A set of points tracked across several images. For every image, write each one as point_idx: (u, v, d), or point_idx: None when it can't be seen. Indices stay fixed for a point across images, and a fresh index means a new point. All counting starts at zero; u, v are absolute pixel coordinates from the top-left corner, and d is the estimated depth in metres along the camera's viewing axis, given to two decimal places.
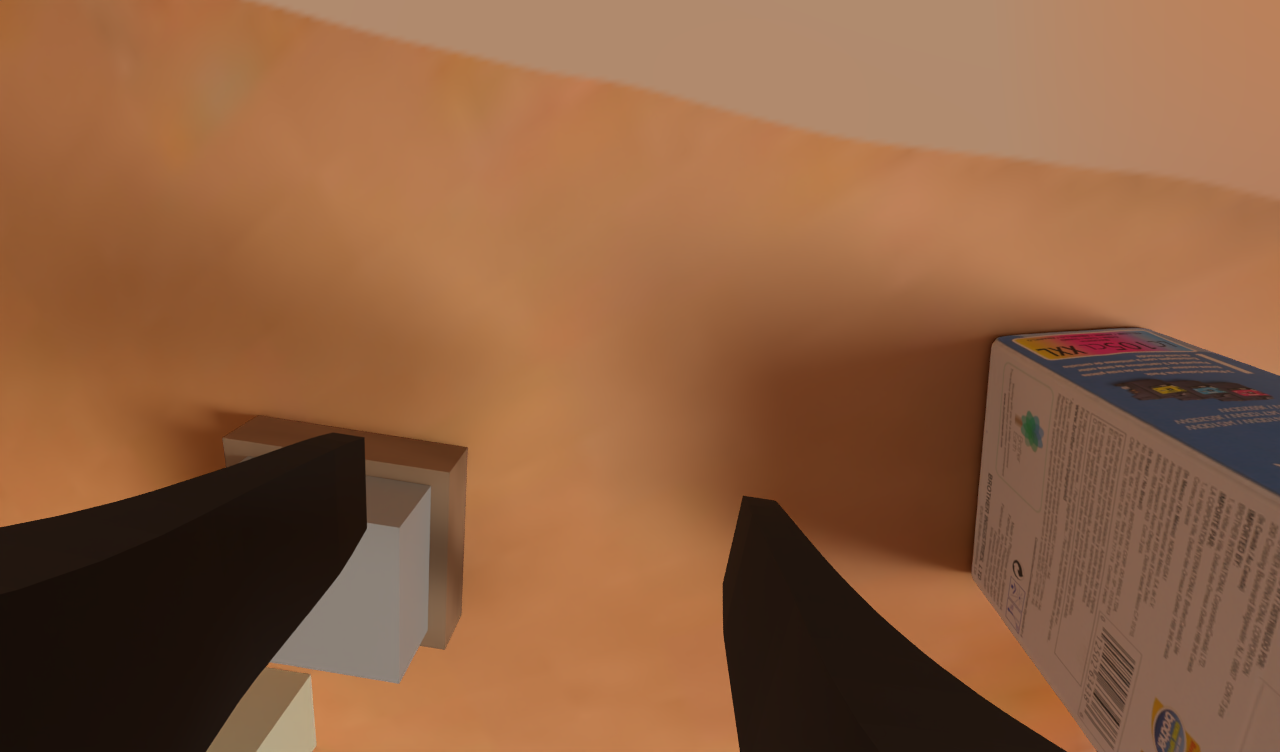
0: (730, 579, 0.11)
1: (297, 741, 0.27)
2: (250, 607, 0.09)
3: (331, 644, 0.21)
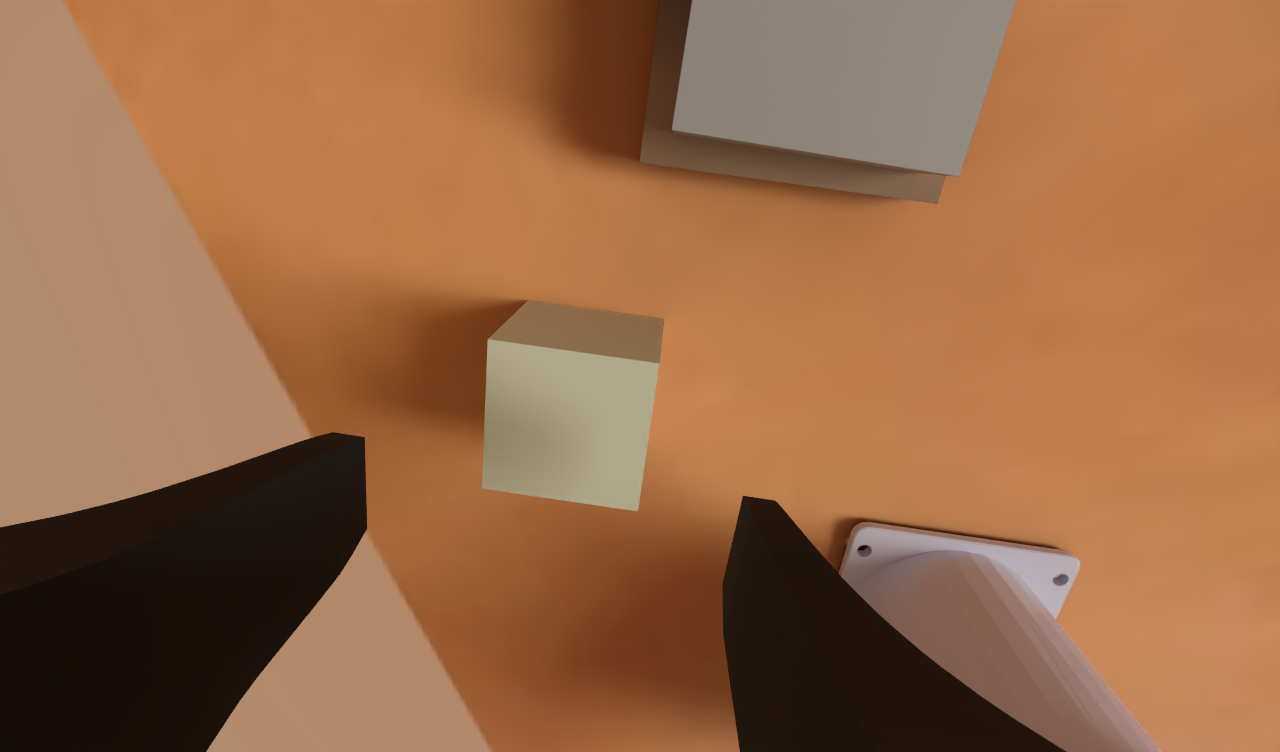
0: (730, 579, 0.11)
1: None
2: (250, 607, 0.09)
3: (871, 96, 0.13)
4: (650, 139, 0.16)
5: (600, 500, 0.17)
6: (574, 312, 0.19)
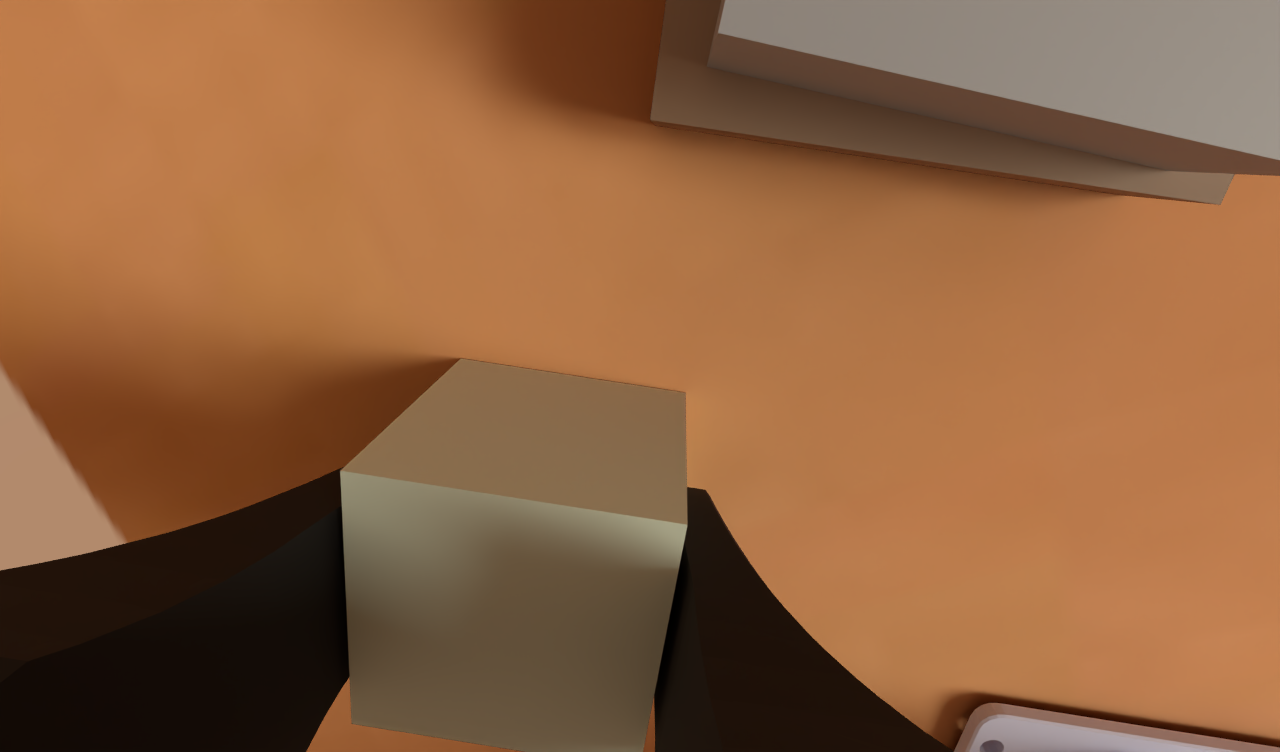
0: None
1: None
2: (337, 621, 0.09)
3: None
4: (671, 73, 0.08)
5: (570, 749, 0.09)
6: (534, 385, 0.11)
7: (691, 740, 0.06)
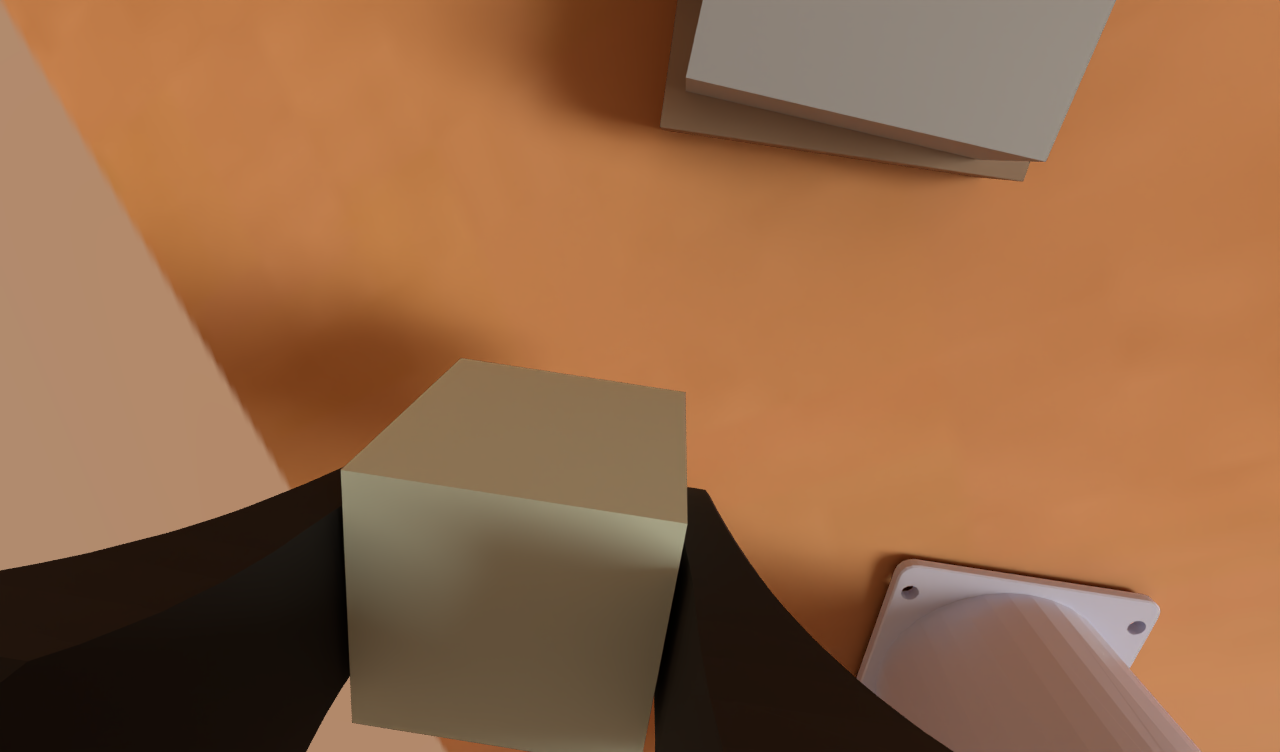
0: None
1: None
2: (337, 621, 0.09)
3: (945, 50, 0.10)
4: (673, 98, 0.13)
5: (570, 748, 0.09)
6: (534, 385, 0.11)
7: (691, 740, 0.06)
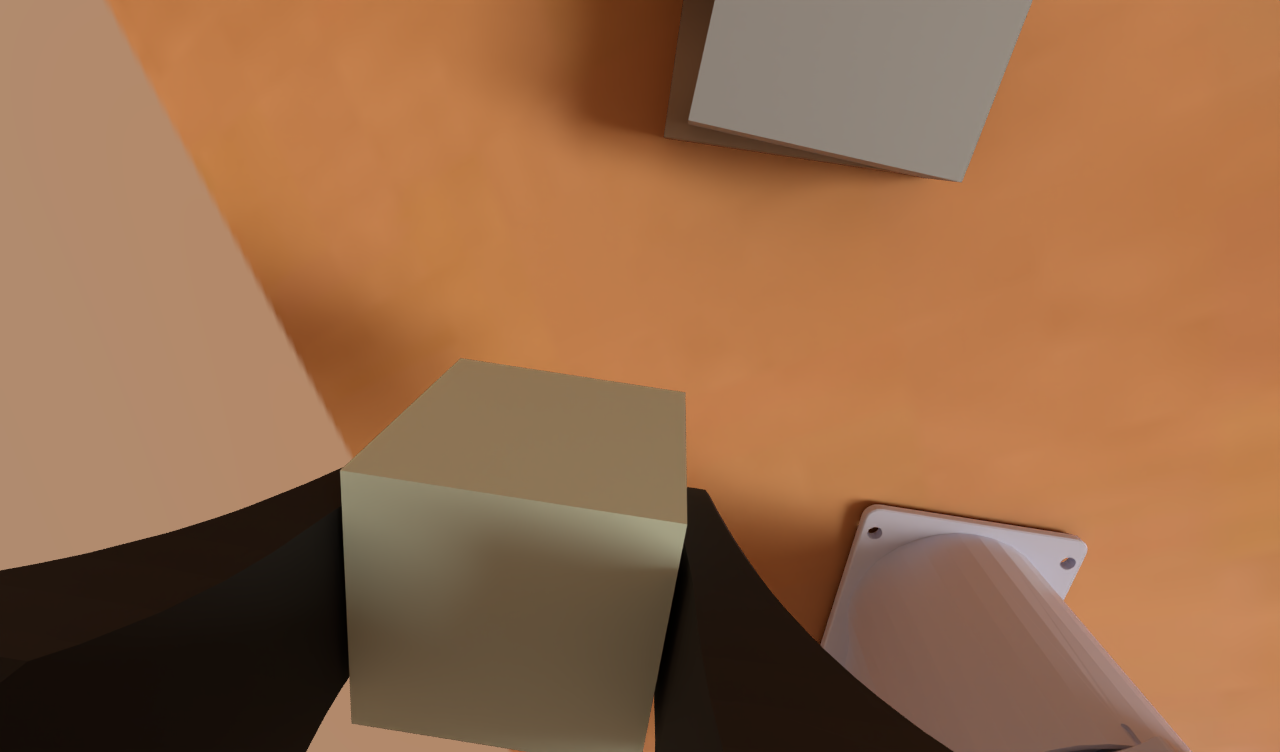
0: None
1: None
2: (337, 621, 0.09)
3: (883, 100, 0.13)
4: (675, 113, 0.16)
5: (570, 749, 0.09)
6: (533, 385, 0.11)
7: (691, 740, 0.06)
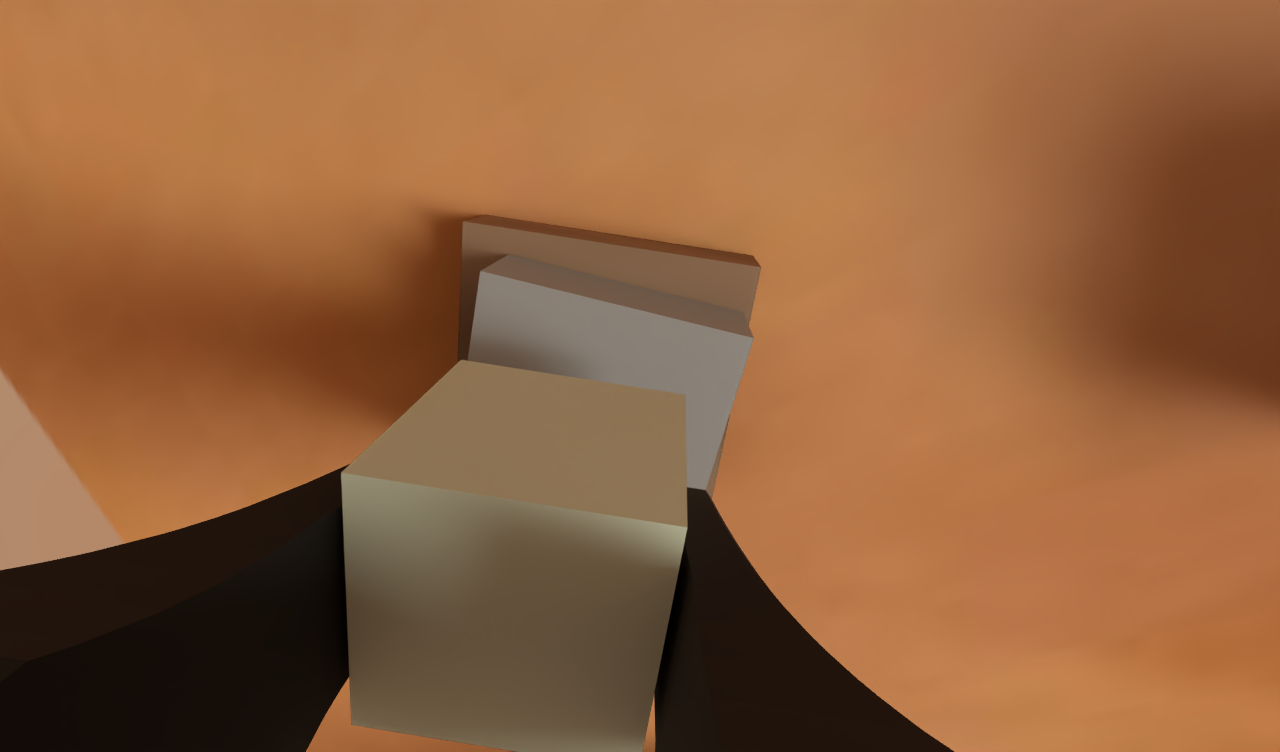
0: None
1: None
2: (337, 621, 0.09)
3: None
4: None
5: (569, 751, 0.09)
6: (534, 387, 0.11)
7: (691, 740, 0.06)
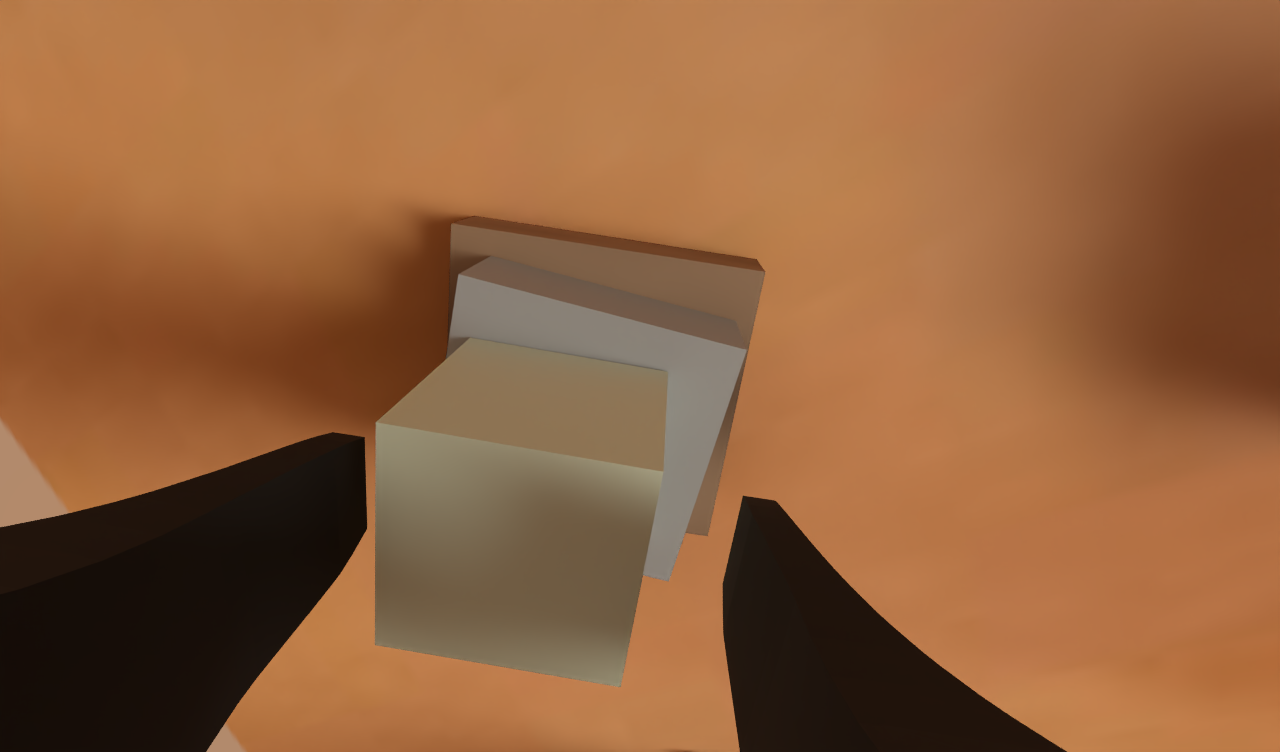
0: (730, 579, 0.11)
1: None
2: (250, 607, 0.09)
3: None
4: None
5: (562, 668, 0.11)
6: (535, 361, 0.13)
7: None
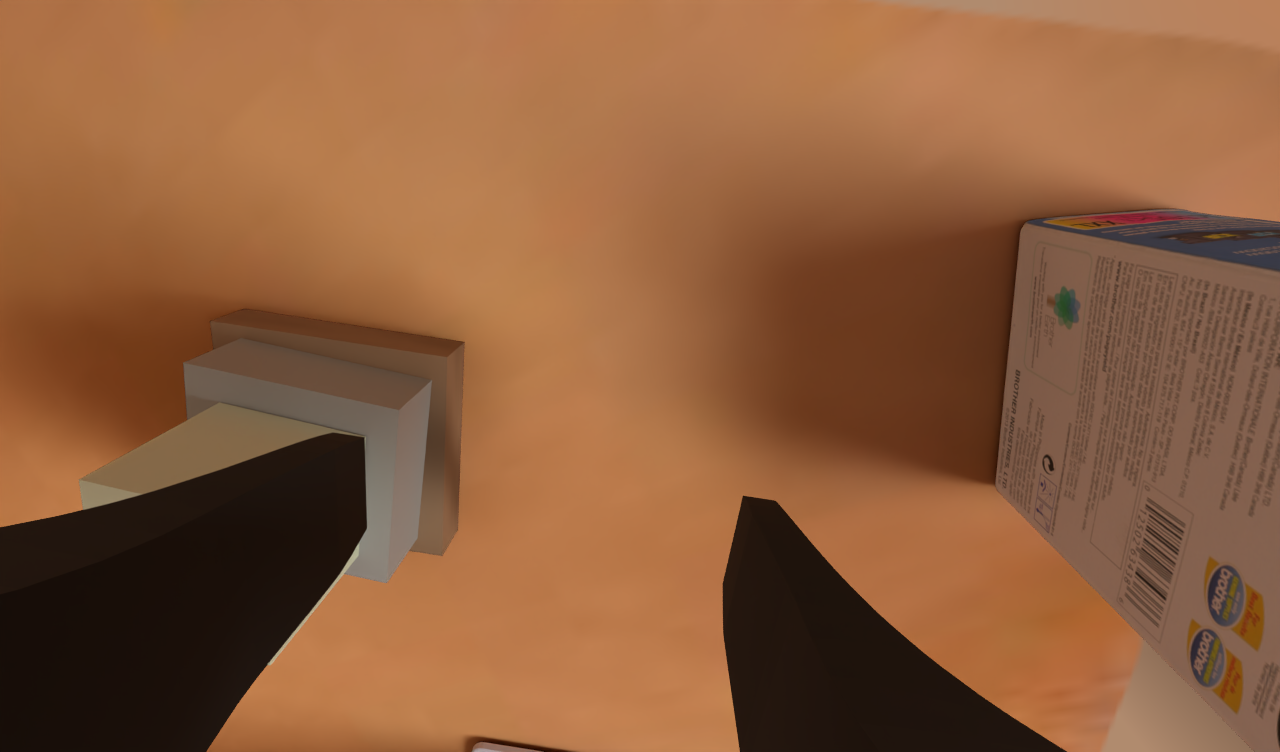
0: (730, 579, 0.11)
1: None
2: (250, 607, 0.09)
3: None
4: None
5: None
6: (255, 426, 0.17)
7: None
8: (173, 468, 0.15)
